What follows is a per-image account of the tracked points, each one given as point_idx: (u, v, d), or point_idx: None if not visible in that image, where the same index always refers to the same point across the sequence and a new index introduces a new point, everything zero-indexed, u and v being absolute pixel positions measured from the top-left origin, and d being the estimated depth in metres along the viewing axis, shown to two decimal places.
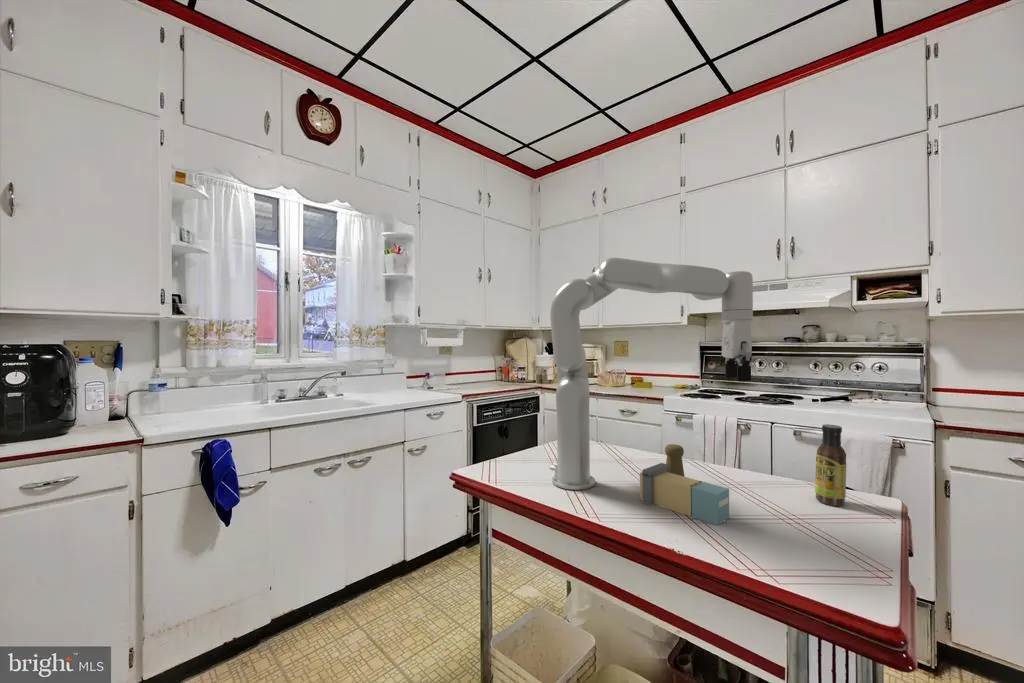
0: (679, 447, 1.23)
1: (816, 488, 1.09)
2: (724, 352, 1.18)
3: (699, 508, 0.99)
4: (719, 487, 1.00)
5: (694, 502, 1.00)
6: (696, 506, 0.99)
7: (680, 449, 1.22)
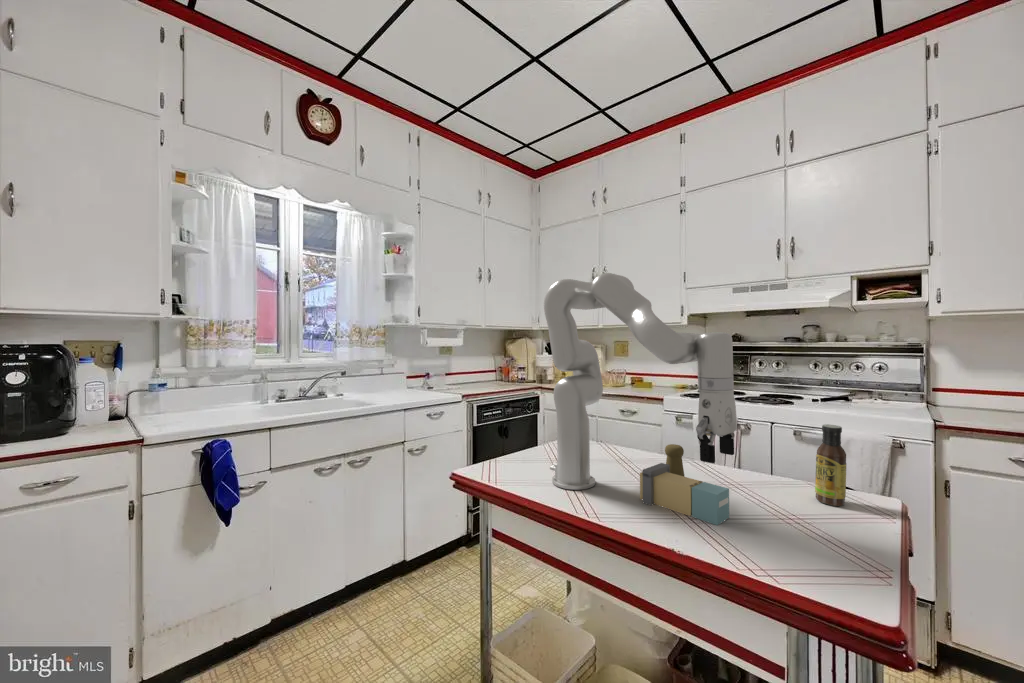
0: (679, 447, 1.23)
1: (816, 488, 1.09)
2: (725, 429, 0.95)
3: (699, 508, 0.99)
4: (719, 487, 1.00)
5: (694, 502, 1.00)
6: (696, 506, 0.99)
7: (680, 449, 1.22)
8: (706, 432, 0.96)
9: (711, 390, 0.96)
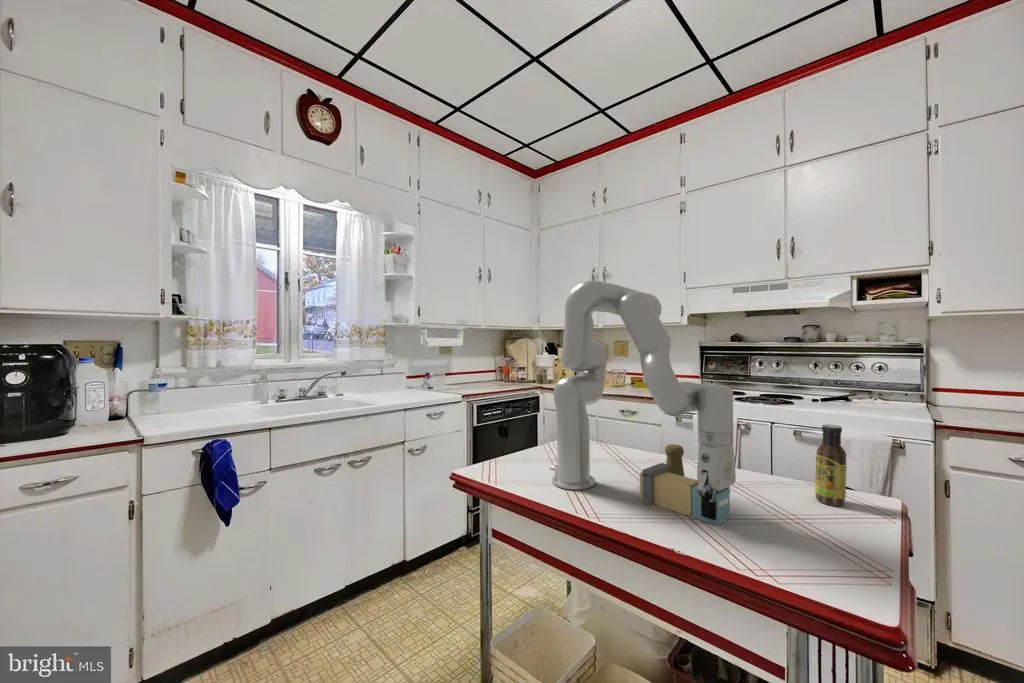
0: (679, 447, 1.23)
1: (816, 488, 1.09)
2: (724, 484, 0.96)
3: (699, 508, 0.99)
4: None
5: (694, 502, 1.00)
6: (696, 506, 0.99)
7: (680, 449, 1.22)
8: (706, 488, 0.97)
9: (711, 444, 0.96)
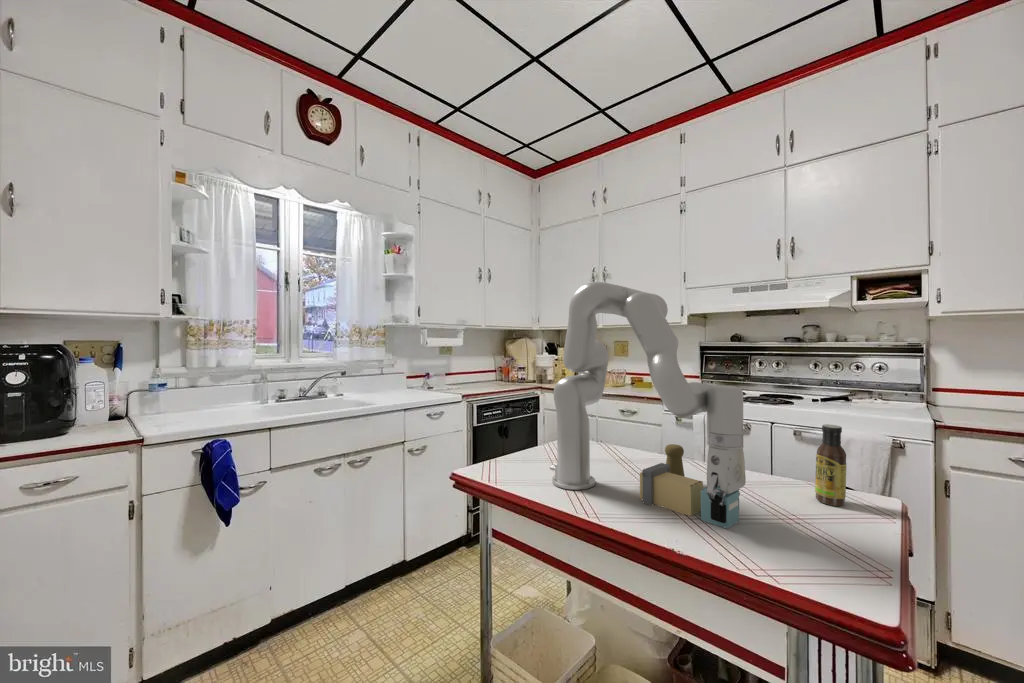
0: (679, 447, 1.23)
1: (816, 488, 1.09)
2: (734, 486, 0.94)
3: (708, 511, 0.97)
4: None
5: (703, 505, 0.98)
6: (705, 509, 0.98)
7: (680, 449, 1.22)
8: (716, 491, 0.95)
9: (720, 446, 0.94)
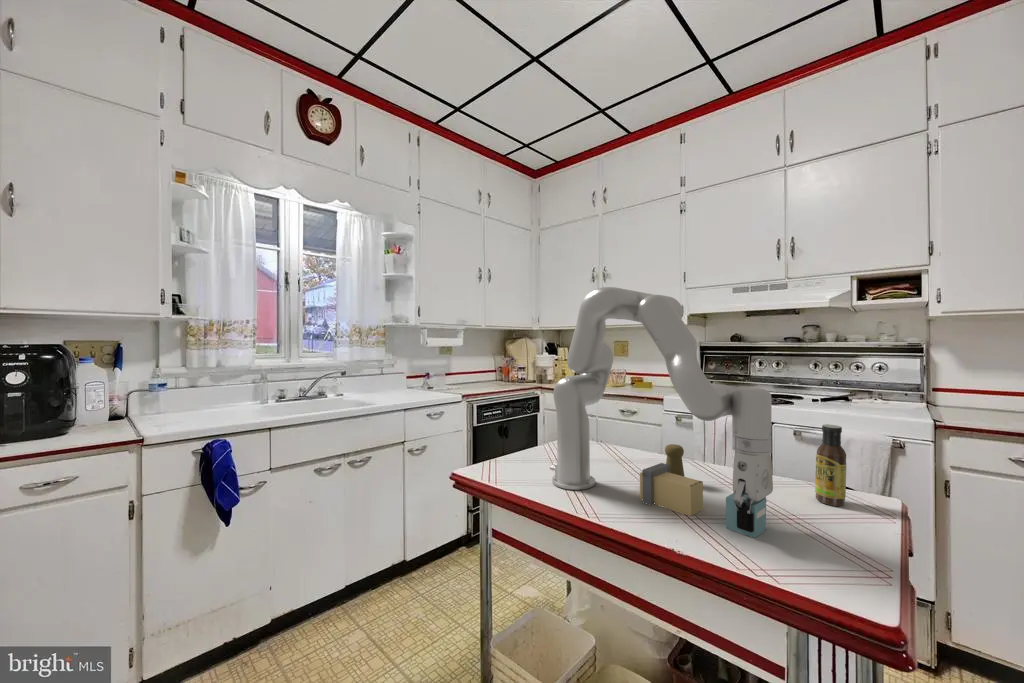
0: (679, 447, 1.23)
1: (816, 488, 1.09)
2: (762, 494, 0.89)
3: (734, 520, 0.93)
4: None
5: (728, 512, 0.94)
6: (731, 517, 0.93)
7: (680, 449, 1.22)
8: (743, 498, 0.91)
9: (748, 452, 0.90)
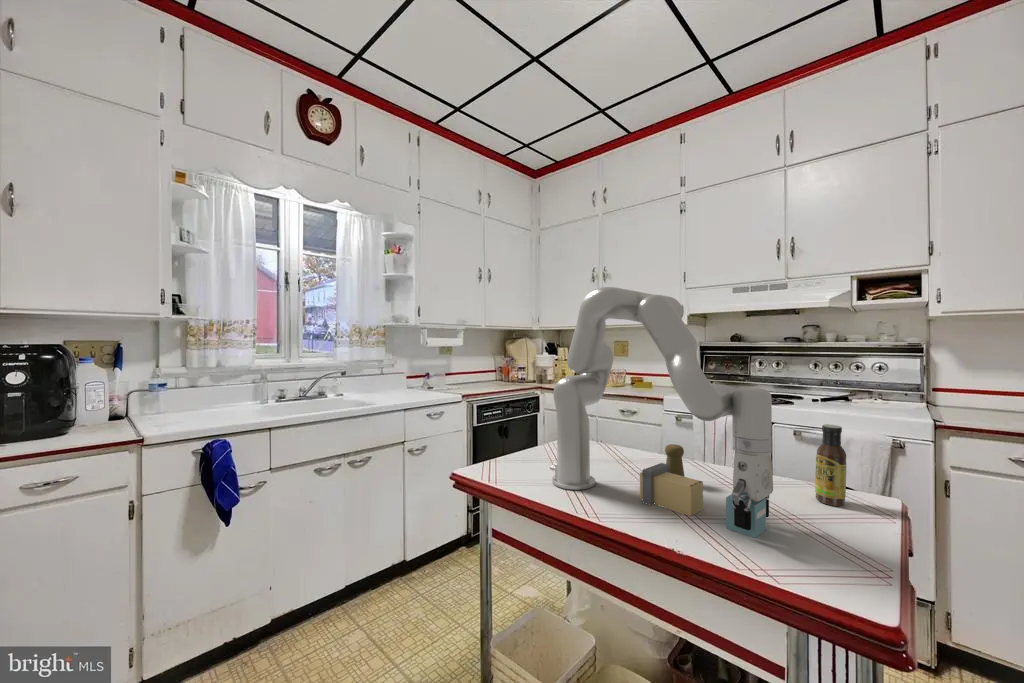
0: (679, 447, 1.23)
1: (816, 488, 1.09)
2: (762, 494, 0.89)
3: None
4: None
5: (728, 512, 0.94)
6: (731, 517, 0.93)
7: (680, 449, 1.22)
8: (741, 496, 0.90)
9: (748, 452, 0.90)
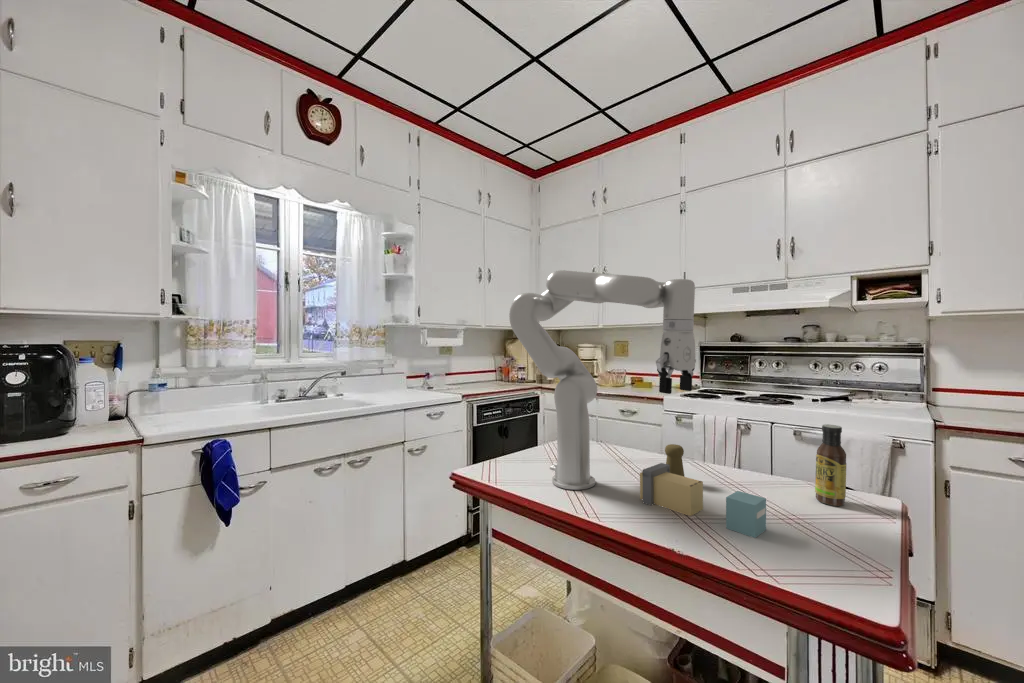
0: (679, 447, 1.23)
1: (816, 488, 1.09)
2: (682, 365, 1.07)
3: (734, 520, 0.93)
4: (755, 497, 0.94)
5: (728, 512, 0.94)
6: (731, 517, 0.93)
7: (680, 449, 1.22)
8: (666, 367, 1.08)
9: (672, 330, 1.08)
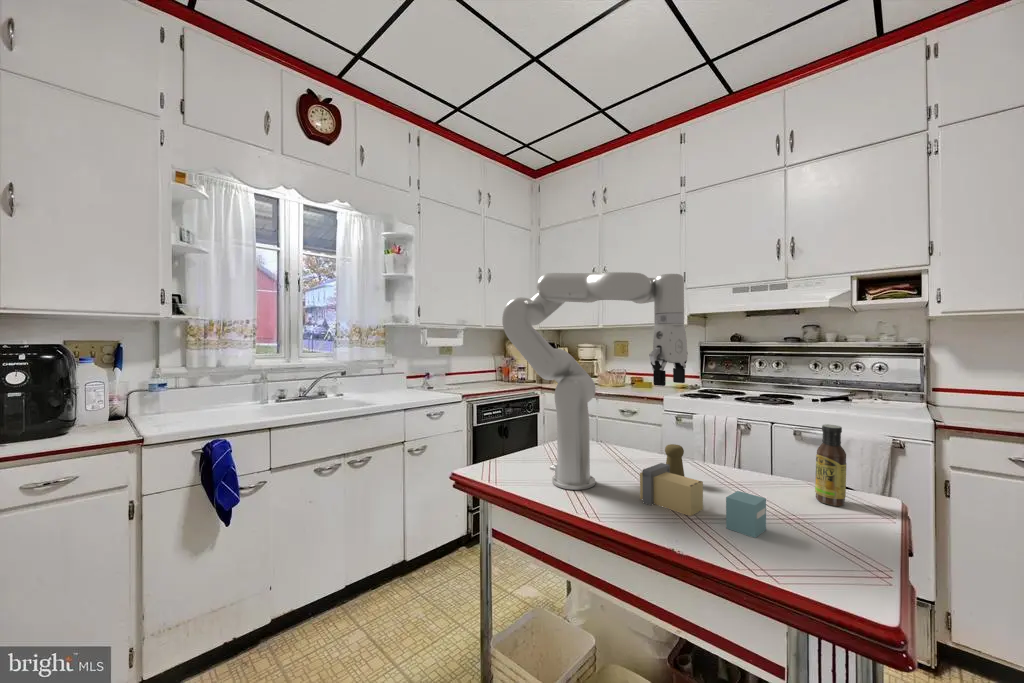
0: (679, 447, 1.23)
1: (816, 488, 1.09)
2: (675, 357, 1.10)
3: (734, 520, 0.93)
4: (755, 497, 0.94)
5: (728, 512, 0.94)
6: (731, 517, 0.93)
7: (680, 449, 1.22)
8: (659, 360, 1.10)
9: (664, 323, 1.10)
